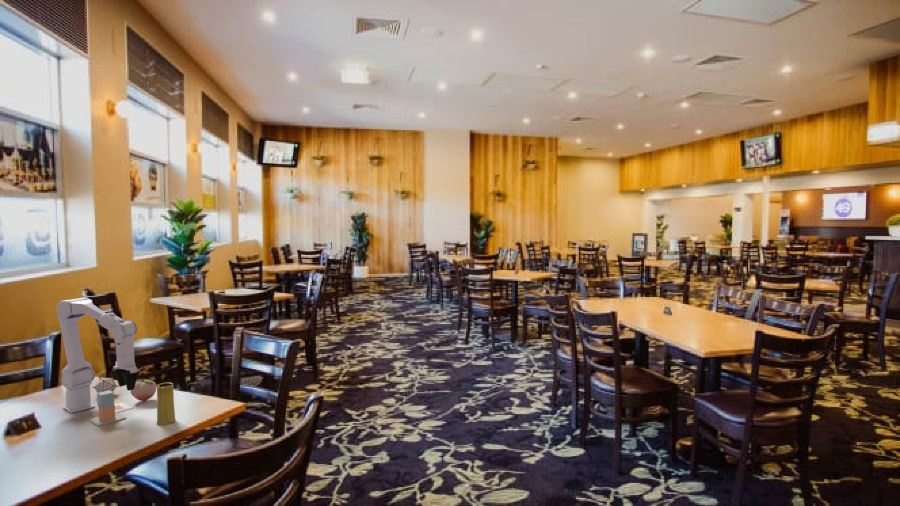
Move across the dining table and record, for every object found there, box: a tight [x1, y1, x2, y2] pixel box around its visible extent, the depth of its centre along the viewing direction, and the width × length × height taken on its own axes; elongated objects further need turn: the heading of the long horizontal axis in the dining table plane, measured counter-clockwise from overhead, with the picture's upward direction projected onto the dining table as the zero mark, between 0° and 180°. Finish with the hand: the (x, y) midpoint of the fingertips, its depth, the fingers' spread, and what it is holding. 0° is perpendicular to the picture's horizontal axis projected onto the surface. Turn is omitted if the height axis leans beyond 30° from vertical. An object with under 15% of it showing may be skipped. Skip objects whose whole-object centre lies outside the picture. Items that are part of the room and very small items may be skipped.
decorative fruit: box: [130, 377, 157, 402], centre depth 207 cm, size 9×8×10 cm
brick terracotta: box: [98, 405, 115, 421], centre depth 188 cm, size 4×4×5 cm
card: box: [114, 402, 133, 413], centre depth 199 cm, size 10×7×1 cm
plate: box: [89, 412, 127, 427], centre depth 188 cm, size 9×9×1 cm
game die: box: [91, 375, 119, 394], centre depth 213 cm, size 9×8×10 cm
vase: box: [156, 382, 176, 426], centre depth 185 cm, size 6×6×14 cm
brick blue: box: [96, 390, 115, 408], centre depth 187 cm, size 4×4×5 cm
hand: (126, 387), depth 193 cm, fingers open, 7 cm apart
